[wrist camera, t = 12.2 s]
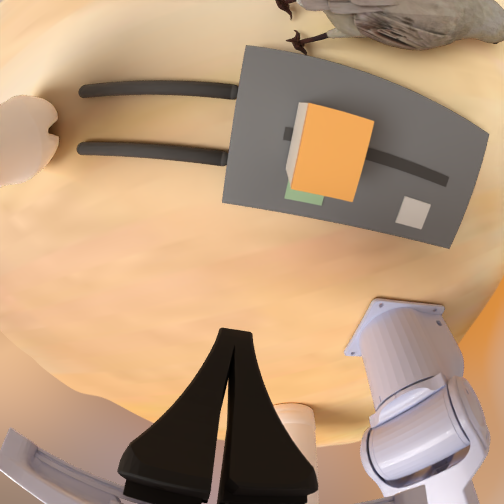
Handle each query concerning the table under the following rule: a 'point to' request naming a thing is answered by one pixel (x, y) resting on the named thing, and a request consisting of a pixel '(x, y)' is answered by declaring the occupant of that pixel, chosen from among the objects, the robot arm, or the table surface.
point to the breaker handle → (327, 151)
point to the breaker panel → (377, 157)
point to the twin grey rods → (154, 149)
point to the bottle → (301, 434)
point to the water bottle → (25, 138)
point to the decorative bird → (406, 21)
